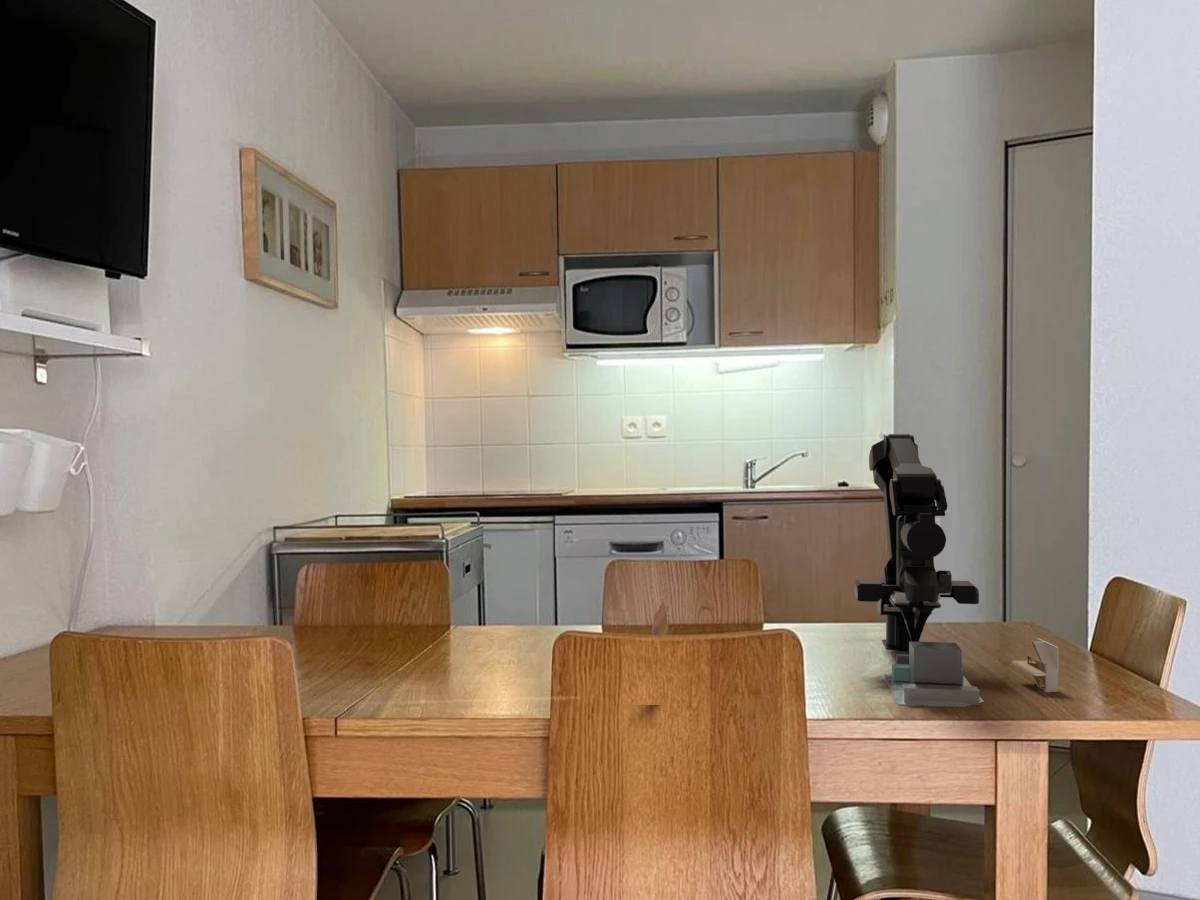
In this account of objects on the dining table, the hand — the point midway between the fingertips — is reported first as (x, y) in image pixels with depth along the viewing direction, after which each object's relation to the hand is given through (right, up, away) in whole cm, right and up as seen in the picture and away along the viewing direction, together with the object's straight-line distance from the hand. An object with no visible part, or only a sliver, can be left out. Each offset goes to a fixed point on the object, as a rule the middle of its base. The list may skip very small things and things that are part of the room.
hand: (914, 643), depth 147 cm
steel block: (-3, -4, -17) cm, 18 cm away
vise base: (-3, -4, -16) cm, 16 cm away
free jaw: (-1, -3, -8) cm, 9 cm away
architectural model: (+14, -4, -14) cm, 20 cm away
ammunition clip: (-42, -5, -10) cm, 44 cm away
